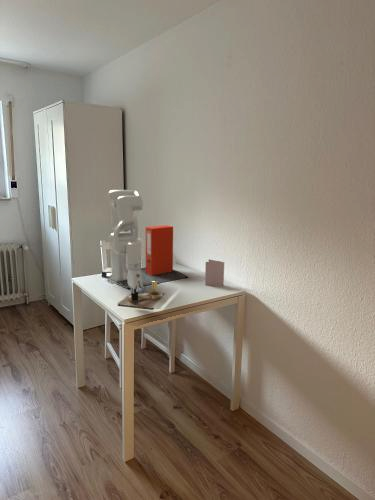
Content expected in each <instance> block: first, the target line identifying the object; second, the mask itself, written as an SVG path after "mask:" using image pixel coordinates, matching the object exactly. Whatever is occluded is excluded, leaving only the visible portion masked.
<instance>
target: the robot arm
mask: <svg viewBox="0 0 375 500" xmlns="http://www.w3.org/2000/svg"><path fill="white" fill-rule="evenodd" d="M107 200H108V203H109V205H110V209H111V213H110V214H111V217H110V218H111V222H110V223H111V228H112V231H113V232H112V233H110V234H109V236H108V243H109V246H110V262H111V263H110V266H111V267H110V268H111V269H112V273H111V274H109V273H107V274H106V276H107V277H106V278H109V280H108V281H109V282H110V283H111V284H115V283H117V282H123V281H126V280H127V285H128V287H129V288H130V293H131V300H132V301H136V300H138V292H139V291H140V290H139V288H142V287H143V286H144V285H143V273H142V242H141V241H140V240H139V239H138V235H139V234H138V231H139V225H138V224H139V221H138V218H137V216H136V215H135V213H134V212H138V211H139V212H140V211H142V210H143V207H144V202H143V198H142V196H141V194H140V193H139V191H137V190H135V189H134V190H133V189H112V190H109V192H108V193H107ZM127 270H128V274H127Z"/></svg>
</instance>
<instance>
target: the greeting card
mask: <svg viewBox="0 0 375 500" xmlns="http://www.w3.org/2000/svg"><path fill="white" fill-rule="evenodd" d="M204 270H205V273H204V274H205V275H204V276H205V278H204V286H224V283H225V282H224V280H225V262H224V261H220V260H213V259H208V261H205V269H204Z"/></svg>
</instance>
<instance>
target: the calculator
mask: <svg viewBox="0 0 375 500" xmlns="http://www.w3.org/2000/svg"><path fill="white" fill-rule="evenodd" d="M107 273H109V274H111V273H112V269H111V267H106V268H105V269H104V270H103V271H101V278H108V277H107V276H106V274H107ZM127 274H128V270H127ZM103 276H104V277H103Z"/></svg>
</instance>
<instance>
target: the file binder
mask: <svg viewBox="0 0 375 500" xmlns="http://www.w3.org/2000/svg"><path fill="white" fill-rule="evenodd" d="M173 261H174V226H171V225H167V224H166V225H157V226H156V225H155V226H154V225H153V226H145V273H146V274H148V275H149V276H156V275H163V274H167V272H168V273H172V272H171V271H174V269H173V268H174V267H173V266H174V262H173Z"/></svg>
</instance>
